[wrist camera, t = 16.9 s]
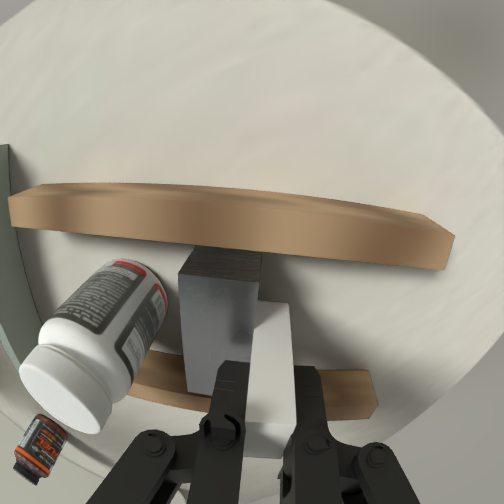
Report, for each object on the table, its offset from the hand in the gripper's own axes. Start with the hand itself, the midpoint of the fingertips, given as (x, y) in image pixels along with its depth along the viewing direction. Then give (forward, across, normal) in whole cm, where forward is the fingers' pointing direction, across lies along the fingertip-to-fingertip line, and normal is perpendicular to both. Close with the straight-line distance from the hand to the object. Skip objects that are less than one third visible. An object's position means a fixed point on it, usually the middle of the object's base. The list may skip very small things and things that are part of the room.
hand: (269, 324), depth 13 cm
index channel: (+1, -3, 0) cm, 4 cm away
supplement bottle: (+2, -28, -28) cm, 40 cm away
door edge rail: (+1, -18, 0) cm, 18 cm away
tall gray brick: (+1, -2, 0) cm, 3 cm away
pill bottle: (+2, -8, 0) cm, 8 cm away
